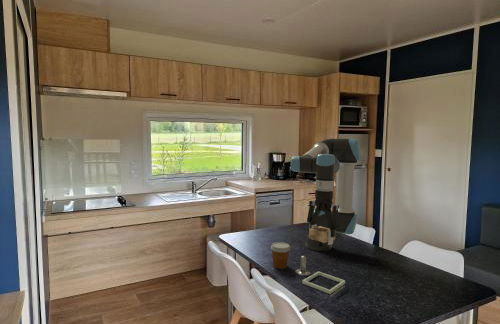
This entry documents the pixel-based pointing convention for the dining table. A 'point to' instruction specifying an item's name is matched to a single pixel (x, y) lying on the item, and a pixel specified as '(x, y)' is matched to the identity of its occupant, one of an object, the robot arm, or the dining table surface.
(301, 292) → the dining table surface
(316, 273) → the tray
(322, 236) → the wooden square frame
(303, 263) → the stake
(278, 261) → the disposable coffee cup
